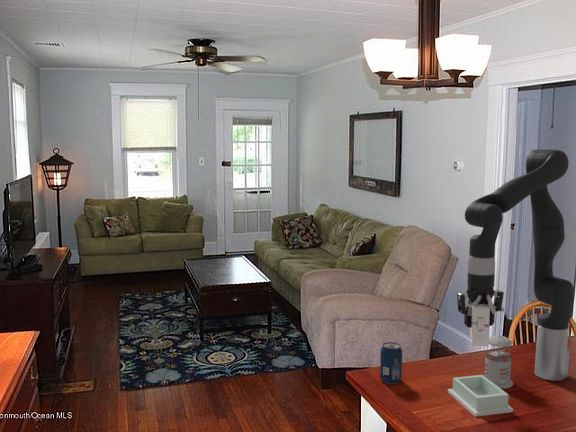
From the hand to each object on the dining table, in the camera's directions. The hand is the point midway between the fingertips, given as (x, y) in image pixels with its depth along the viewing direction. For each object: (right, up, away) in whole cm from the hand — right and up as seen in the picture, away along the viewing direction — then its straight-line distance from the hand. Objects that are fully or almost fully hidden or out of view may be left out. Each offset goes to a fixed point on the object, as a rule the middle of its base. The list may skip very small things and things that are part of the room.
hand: (479, 325), depth 172 cm
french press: (+12, -21, +17) cm, 30 cm away
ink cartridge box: (0, -5, +1) cm, 5 cm away
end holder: (+1, -23, +2) cm, 23 cm away
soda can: (-23, -21, +17) cm, 36 cm away
